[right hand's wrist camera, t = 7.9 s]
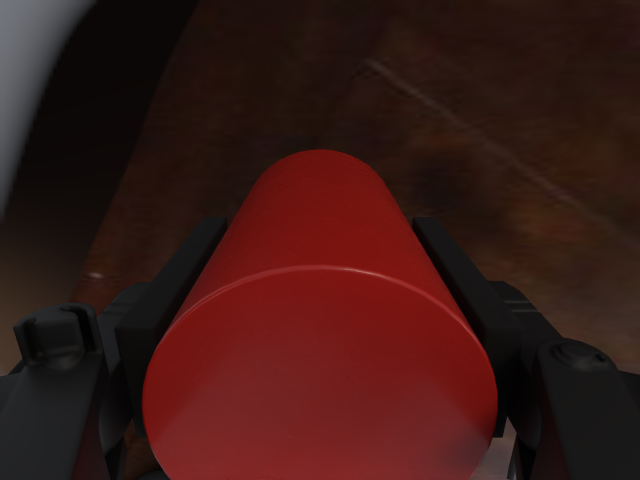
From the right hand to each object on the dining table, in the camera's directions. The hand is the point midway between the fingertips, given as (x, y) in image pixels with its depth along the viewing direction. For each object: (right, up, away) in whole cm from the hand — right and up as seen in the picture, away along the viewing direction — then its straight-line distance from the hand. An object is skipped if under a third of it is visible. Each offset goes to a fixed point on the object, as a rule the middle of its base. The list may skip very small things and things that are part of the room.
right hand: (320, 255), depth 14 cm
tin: (0, +1, +3) cm, 3 cm away
